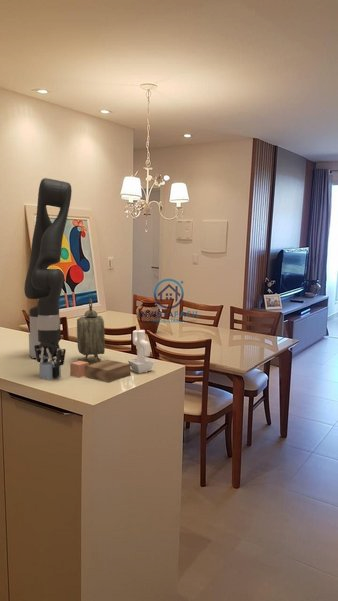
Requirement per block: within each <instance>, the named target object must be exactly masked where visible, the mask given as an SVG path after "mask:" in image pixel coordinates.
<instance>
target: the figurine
mask: <svg viewBox="0 0 338 601" xmlns="http://www.w3.org/2000/svg"><path fill="white" fill-rule="evenodd" d="M146 338H147V335H146V331H145V329H139V330H136V329H135V330H133V331H132V343H133V345H134V346H136V347H137V348H136V349H137V351H136V352H137V356H136V359H128V360H127V362H128V364H130V365H131V369H132V371H133V372H135V373H137V374H143V373H142V372H144V373H147V372H146V371H151V370H152V368H153V366H154V365H155V363H156V362H155V361H154V360H151V359H149V358H147V357H150V355H151V345H150V342H149V341H147V340H146Z"/></svg>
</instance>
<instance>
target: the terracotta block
mask: <svg viewBox="0 0 338 601" xmlns="http://www.w3.org/2000/svg"><path fill="white" fill-rule="evenodd" d="M69 365H70V366H69V367H70V370H69V372H70V377H71V376H72V377H74V378H83V377H86V371H85V366H86V365H90V363H89V361H87V362H84V360H83V361H82V360H77V361H74V362H70V363H69Z"/></svg>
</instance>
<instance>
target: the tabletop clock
mask: <svg viewBox="0 0 338 601" xmlns="http://www.w3.org/2000/svg"><path fill="white" fill-rule="evenodd" d="M88 305H89V306H88V308H89V309H88V310H86V311H85V313H84V314H83V316H80V317H79V318H77V319H76V334H77V335H76V337H77V338H76V341H77V343H76V344H77V350H78V352H79V354H81V355H83V356H85V357H84V359H83V361H84V362H89V359H88V357H89V356H91V355H93V357H94V359H97V362H101V361H102V360H101V359H100V358H99V355H104V354H105V351H106V350H105V347H106V344H105V343H106V342H105V341H106V340H105V339H106V337H105V320H104V318H103V316H102V315H98V313H97V311H96V310H94V309H93V300H92V298H89V299H88Z"/></svg>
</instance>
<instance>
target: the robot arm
mask: <svg viewBox="0 0 338 601" xmlns="http://www.w3.org/2000/svg"><path fill="white" fill-rule="evenodd" d="M72 191H73V190H72V186H71V183H69V182H67V181H63V180H59V179H52V178H48V177H44V178H42V179H41V180H40V183H39V187H38V194H37V208H36V217H35V223H34V228H33V229H34V230H33V235H32V240H31V241H32V242H31V249H30V256H29V264H28V269H27V273H26V276H25V282H24V290H23V291H24V295H25V297H26V298H27V299H29V300H37V305H35V306H34V307H31V308H30V309H29V313H28V314H29V333H28V348H29V349H28V350H29V357H30V356H31V357H32V358H31V357H30V358H31V359H33V358H36V359H35V360H36V362H37V363H39V364H40V363H44V362H48V361H51V363H52V366H53V367H52V375H53V378H55V379H58V378H57V377H59V366H64V364H65V359H66V358H65V357H66V348H61V347H60V344H59V342H60V341H61V339H62V337H61V336H62V334H61V317H60V299H61V294H62V289H63V287H64V281H65V278H64V274H63V272H62V271H61V270H60V269H57V268H49V267H50V266H51V265H57V264H58V263H60V262H61V257H62V256H61V255H62V249H63V248H62V246H63V238H64V233H65V228H66V224H67V220H68V217H69V216H68V215H69V210H70V206H71V200H72ZM48 206H49V207H55V208H58V209H59V212H58V214H57V216H56V218H55V219H54V220H53V222H52V221H51V218H50V217H49V214H48V208H47V207H48ZM55 362H56V363H55ZM59 378H60V377H59Z"/></svg>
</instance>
